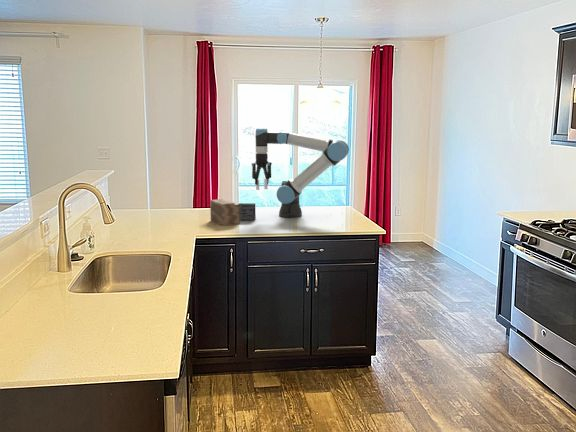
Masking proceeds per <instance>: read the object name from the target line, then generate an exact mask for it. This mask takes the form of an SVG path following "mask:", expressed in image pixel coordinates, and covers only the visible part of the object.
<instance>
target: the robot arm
mask: <svg viewBox="0 0 576 432" xmlns="http://www.w3.org/2000/svg"><path fill="white" fill-rule="evenodd" d="M270 144H271V145H274V144H275V145H282V144H283V145H284V144H285V145H289V146H290V145H291V146H295V147H299V148H305V149H308V150H314V151H319V152H322V154H321V156H319V157H318V158H317V159H316V160H315V161H313V162H312V163H311V164H310V165H308V166H307V167H306V168H305V169H304V170H302V171H301V172H300V173H299V174H298V175H297V176H296V177H294V178H290V179H288V180H283V181H281V185H280V186H279V188H277V190H276V198H277V200H278V202H279V203H281V205H280V208H279V212H278V216H279V217H283V218H299V217H302V216H303V211H302V208H301V205H300V195H301V194H302V193H303V190H304V189H305V188H306V187H307V186H308V185H310V184H311V183H312V182H313V181H314V180H316V179H317V178H318V177H319V176H320V175H322V174H323V173H324V172H325V171H327V170H328V169H329V168H331V166H333V167H334V166H337V165H338V164H339V163H340V162H341V161H343V160H344V159H345V158H346V157H347V156H348V154H349V151H350V148H349V146H348V144H347V142H345V141H344V140H336V139H328V140H327V139H322V138H317V137H312V136H309V135H308V136H307V135H301V134H298V133H294V132H287V131H285V130H278V131H269V130H268V128H265V127H263V128H260V127H259V128H255V162H252V163H251V167H252V168H251V169H252V170H251V171H252V172H251V175H252V176H251V178H252V179H253V180H254V185H255V189H256V191H260V180H259V177H260V173H261V169H262V170H263V174H264V180H263V181H264V184H263V185H264V190H268V185H269V181H270V179H271V178H272V164H273V163H272V162H269V161H268V151H269V150H268V149H269V147H268V145H270Z"/></svg>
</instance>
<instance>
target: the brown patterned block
mask: <svg viewBox="0 0 576 432" xmlns="http://www.w3.org/2000/svg"><path fill="white" fill-rule="evenodd" d="M209 202H210V203H209V205H210V207H209V209H210V222H213V223H214V224H217V225H221V226H223V227H224V226H231V225H240V221H239V203H237V204H235V202H232V201H230V200H226V199H223V198H220V199H210V201H209Z"/></svg>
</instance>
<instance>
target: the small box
mask: <svg viewBox="0 0 576 432" xmlns="http://www.w3.org/2000/svg"><path fill="white" fill-rule="evenodd" d="M238 204H239V222H243V221H244V222H249V221H250V222H254V221H255V220H257V217H256V203H252V202H251V203H249V202H248V203H244V202H243V203H242V202H241V203H238Z"/></svg>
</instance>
